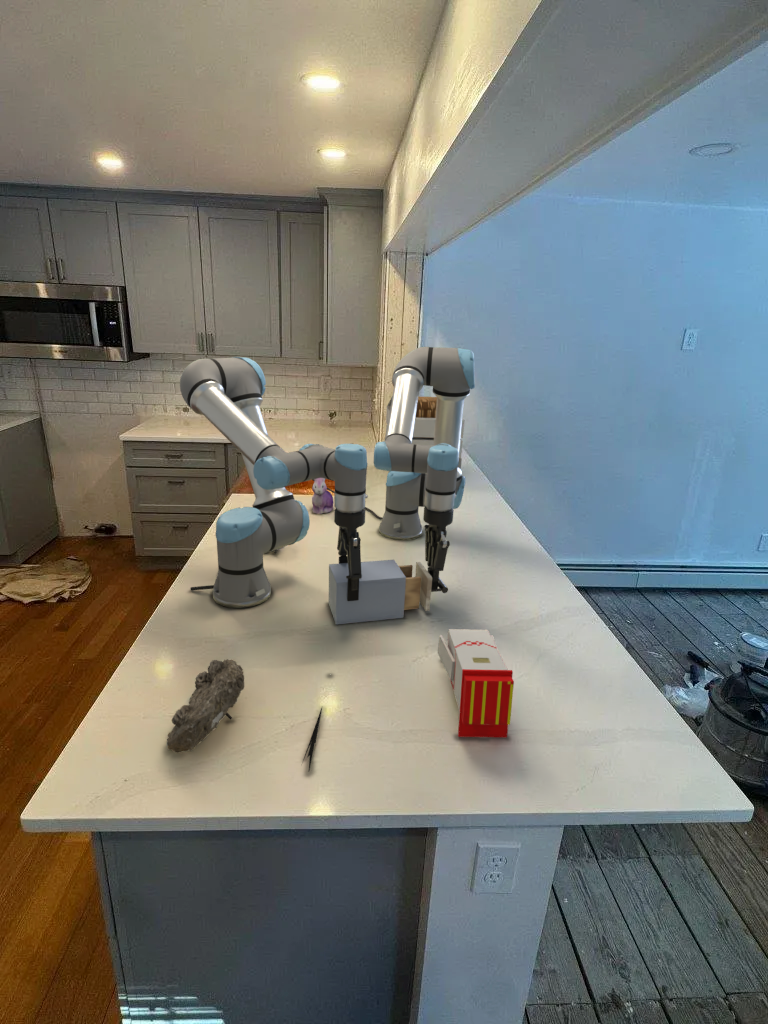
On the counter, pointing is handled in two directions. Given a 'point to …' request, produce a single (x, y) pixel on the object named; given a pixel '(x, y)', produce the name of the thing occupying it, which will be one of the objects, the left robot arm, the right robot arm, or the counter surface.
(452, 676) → the toy
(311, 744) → the feather
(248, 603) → the left robot arm
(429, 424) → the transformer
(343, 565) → the cabinet
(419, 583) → the drawer
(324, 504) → the figurine
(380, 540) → the counter surface
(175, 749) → the fossil
